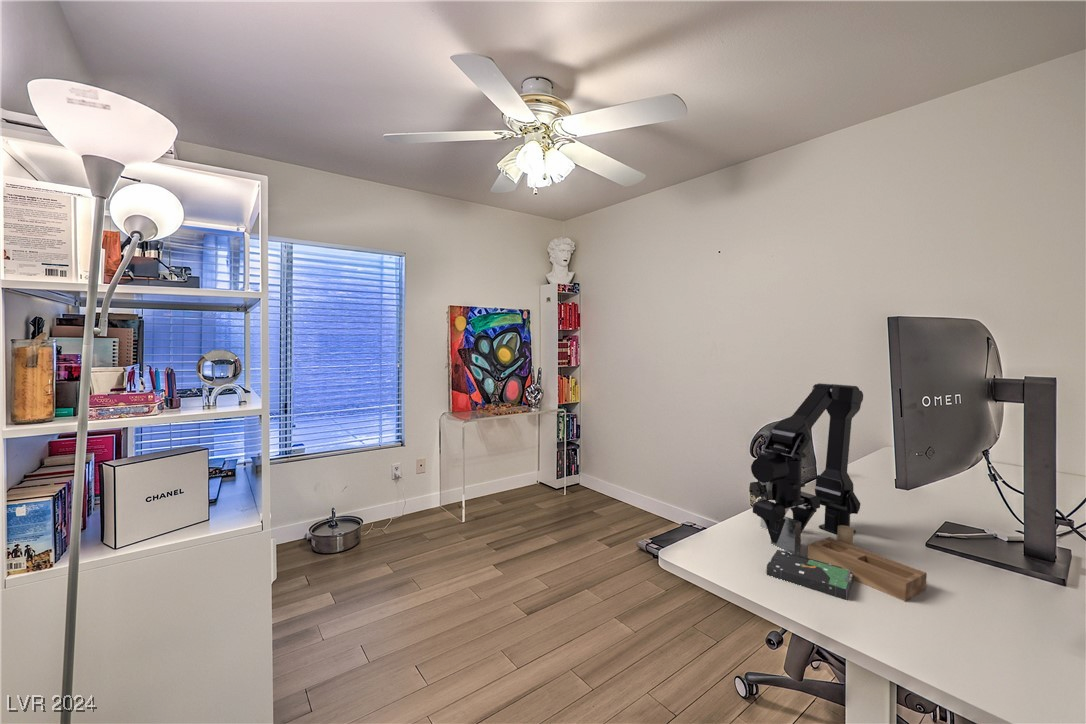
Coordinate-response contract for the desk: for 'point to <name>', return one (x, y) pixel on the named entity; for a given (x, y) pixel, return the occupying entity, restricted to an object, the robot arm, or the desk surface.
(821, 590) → the disk drive
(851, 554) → the socket board
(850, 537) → the round dowel
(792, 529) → the tall grey rectangular prism
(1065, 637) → the desk surface
